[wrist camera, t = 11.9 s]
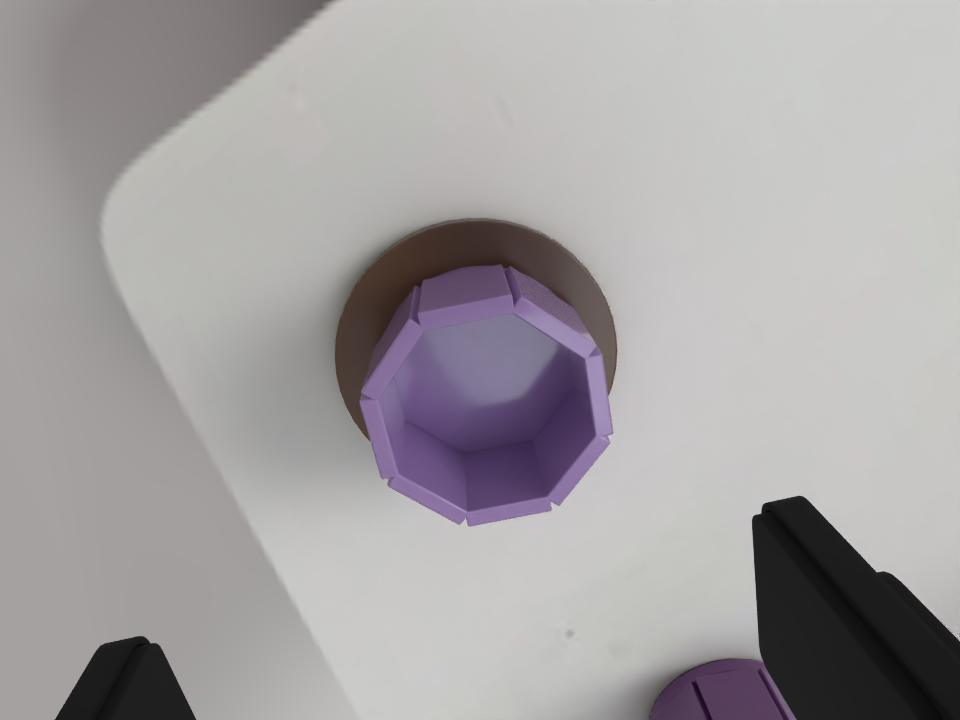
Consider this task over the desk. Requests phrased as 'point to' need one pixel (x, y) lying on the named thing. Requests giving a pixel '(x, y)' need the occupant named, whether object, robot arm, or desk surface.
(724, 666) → the dish plum
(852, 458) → the desk surface
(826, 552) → the robot arm
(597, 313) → the coaster
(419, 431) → the dish lilac
